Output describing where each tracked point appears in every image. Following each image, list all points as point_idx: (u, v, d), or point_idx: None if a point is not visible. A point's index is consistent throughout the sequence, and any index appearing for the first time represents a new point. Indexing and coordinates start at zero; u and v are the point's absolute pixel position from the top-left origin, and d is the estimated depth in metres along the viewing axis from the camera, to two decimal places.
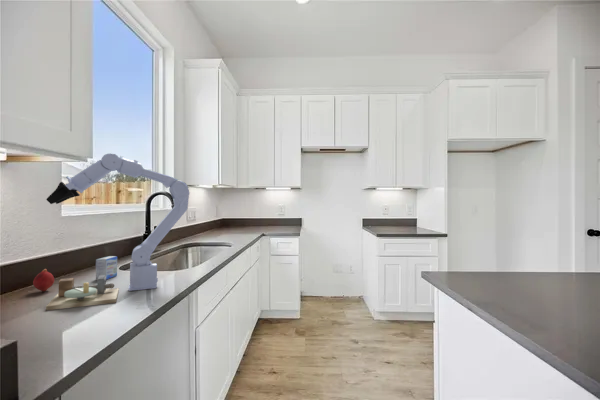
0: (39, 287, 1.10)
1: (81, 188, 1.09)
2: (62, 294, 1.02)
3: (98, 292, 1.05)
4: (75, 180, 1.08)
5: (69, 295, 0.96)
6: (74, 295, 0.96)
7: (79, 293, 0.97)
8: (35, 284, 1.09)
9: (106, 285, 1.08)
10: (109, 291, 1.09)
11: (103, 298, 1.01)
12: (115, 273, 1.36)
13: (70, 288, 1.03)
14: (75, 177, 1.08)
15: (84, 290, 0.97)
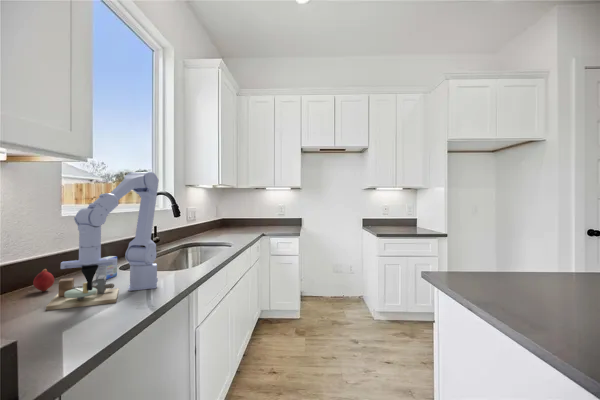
0: (39, 287, 1.10)
1: None
2: (62, 294, 1.02)
3: (98, 292, 1.05)
4: (99, 257, 0.98)
5: (69, 295, 0.96)
6: (74, 295, 0.96)
7: (79, 293, 0.97)
8: (35, 284, 1.09)
9: (106, 285, 1.08)
10: (109, 291, 1.09)
11: (103, 298, 1.01)
12: (115, 273, 1.36)
13: (70, 288, 1.03)
14: (96, 255, 0.97)
15: (84, 290, 0.97)
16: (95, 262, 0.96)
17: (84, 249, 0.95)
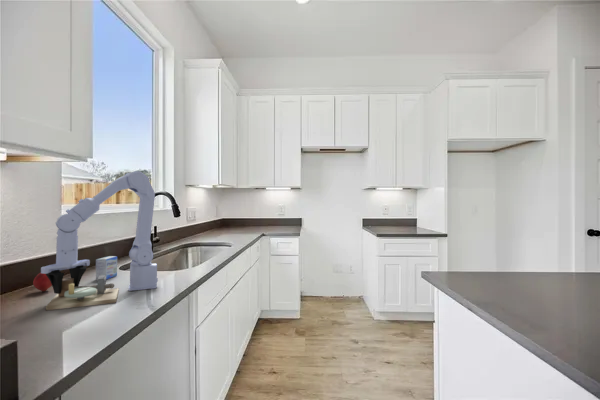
0: (39, 287, 1.10)
1: None
2: (62, 294, 1.02)
3: (98, 292, 1.05)
4: None
5: None
6: (64, 293, 0.97)
7: (69, 293, 0.97)
8: (35, 284, 1.09)
9: (106, 285, 1.08)
10: (109, 291, 1.09)
11: (103, 298, 1.01)
12: (115, 273, 1.36)
13: None
14: (77, 258, 1.05)
15: None
16: (77, 264, 1.05)
17: (69, 252, 1.02)
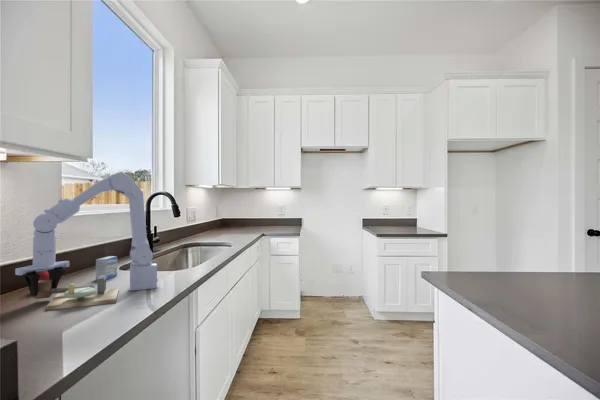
0: None
1: None
2: (39, 296, 0.99)
3: (98, 292, 1.05)
4: None
5: None
6: (64, 293, 0.97)
7: (69, 293, 0.97)
8: None
9: None
10: (109, 291, 1.09)
11: (103, 298, 1.01)
12: (115, 273, 1.36)
13: (47, 290, 1.00)
14: (54, 259, 1.02)
15: None
16: (55, 265, 1.02)
17: (45, 253, 0.99)
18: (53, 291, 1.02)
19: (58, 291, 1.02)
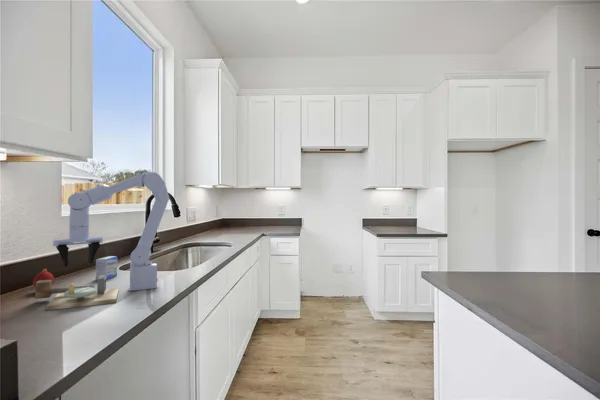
0: None
1: None
2: (39, 296, 0.99)
3: (98, 292, 1.05)
4: (88, 235, 1.13)
5: None
6: (64, 293, 0.97)
7: (69, 293, 0.97)
8: (35, 284, 1.09)
9: None
10: (109, 291, 1.09)
11: (103, 298, 1.01)
12: (115, 273, 1.36)
13: (47, 290, 1.00)
14: (87, 234, 1.12)
15: None
16: (87, 240, 1.12)
17: (78, 228, 1.09)
18: (53, 291, 1.02)
19: (58, 291, 1.02)
